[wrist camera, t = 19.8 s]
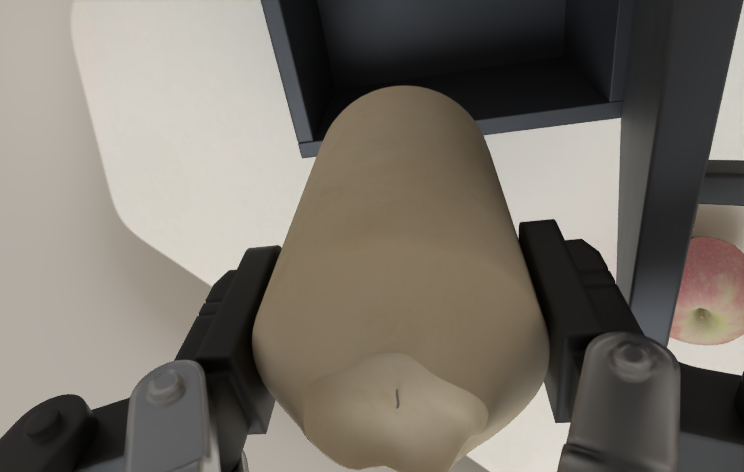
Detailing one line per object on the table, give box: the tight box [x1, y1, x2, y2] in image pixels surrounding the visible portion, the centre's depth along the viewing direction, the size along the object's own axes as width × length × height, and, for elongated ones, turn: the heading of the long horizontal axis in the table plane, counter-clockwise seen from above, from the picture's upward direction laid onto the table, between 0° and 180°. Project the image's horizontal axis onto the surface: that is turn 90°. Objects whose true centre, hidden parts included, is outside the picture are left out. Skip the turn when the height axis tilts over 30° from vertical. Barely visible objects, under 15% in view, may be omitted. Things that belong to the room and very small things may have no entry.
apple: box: [669, 237, 744, 345], centre depth 37 cm, size 8×8×8 cm
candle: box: [252, 86, 550, 472], centre depth 12 cm, size 6×6×10 cm
